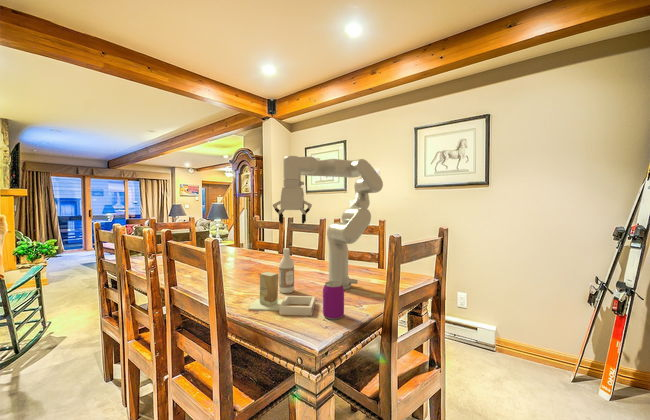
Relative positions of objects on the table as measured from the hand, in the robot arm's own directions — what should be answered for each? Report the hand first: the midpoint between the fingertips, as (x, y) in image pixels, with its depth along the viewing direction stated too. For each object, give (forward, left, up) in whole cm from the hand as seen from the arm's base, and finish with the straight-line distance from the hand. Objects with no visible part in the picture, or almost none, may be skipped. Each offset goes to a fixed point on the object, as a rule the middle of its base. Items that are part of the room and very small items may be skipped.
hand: (292, 223), depth 123 cm
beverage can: (-19, +21, -32) cm, 43 cm away
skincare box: (+8, +12, -32) cm, 35 cm away
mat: (+8, +12, -32) cm, 35 cm away
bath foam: (+4, -6, -32) cm, 33 cm away
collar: (-5, +15, -32) cm, 36 cm away
